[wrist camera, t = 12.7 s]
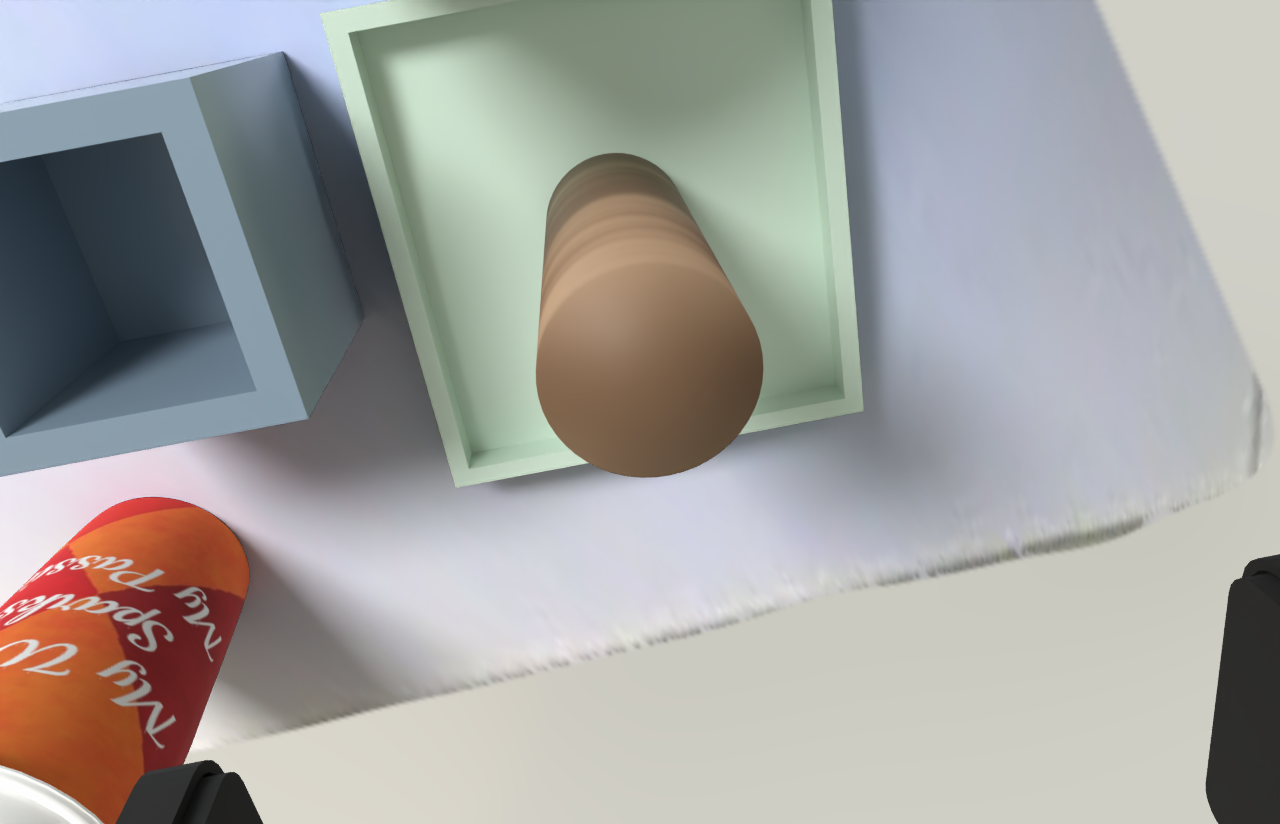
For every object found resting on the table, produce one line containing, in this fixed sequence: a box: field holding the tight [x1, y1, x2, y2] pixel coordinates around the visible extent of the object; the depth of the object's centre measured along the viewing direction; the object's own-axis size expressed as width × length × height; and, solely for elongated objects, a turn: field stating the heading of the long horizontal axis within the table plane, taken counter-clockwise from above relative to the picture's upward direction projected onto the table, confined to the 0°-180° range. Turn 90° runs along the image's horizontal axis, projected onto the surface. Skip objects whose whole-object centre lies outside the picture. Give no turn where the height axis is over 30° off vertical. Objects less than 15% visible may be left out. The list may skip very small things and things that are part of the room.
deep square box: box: [0, 51, 364, 477], centre depth 26 cm, size 8×8×8 cm
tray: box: [320, 0, 864, 488], centre depth 30 cm, size 15×14×2 cm
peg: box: [536, 153, 764, 477], centre depth 25 cm, size 4×4×13 cm
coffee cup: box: [0, 497, 249, 824], centre depth 28 cm, size 8×8×15 cm
